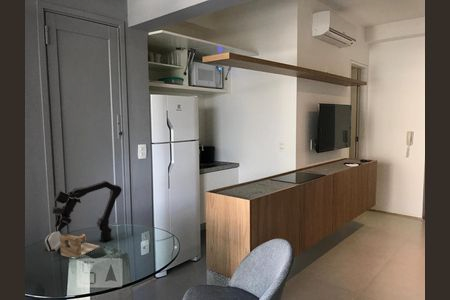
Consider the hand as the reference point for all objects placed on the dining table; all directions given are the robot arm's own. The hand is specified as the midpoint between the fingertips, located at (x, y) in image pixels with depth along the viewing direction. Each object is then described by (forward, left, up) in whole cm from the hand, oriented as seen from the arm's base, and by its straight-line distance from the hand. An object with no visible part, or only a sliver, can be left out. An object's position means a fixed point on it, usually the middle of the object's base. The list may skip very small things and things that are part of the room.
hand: (56, 228), depth 213 cm
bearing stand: (-6, +14, -15) cm, 21 cm away
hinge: (-5, -10, -15) cm, 19 cm away
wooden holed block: (-3, +14, -9) cm, 17 cm away
